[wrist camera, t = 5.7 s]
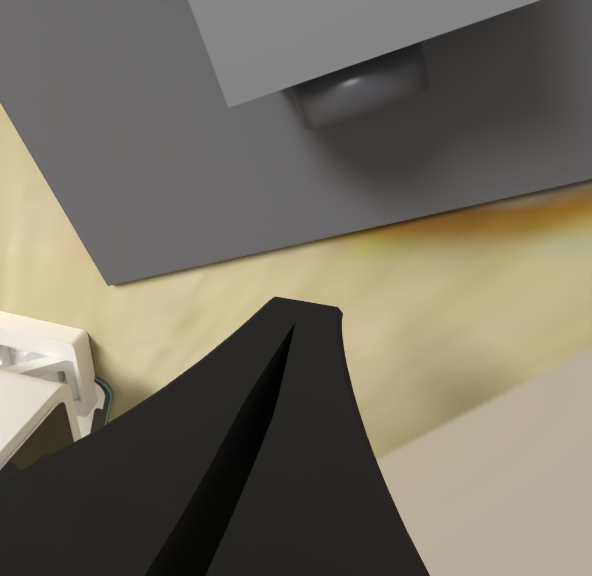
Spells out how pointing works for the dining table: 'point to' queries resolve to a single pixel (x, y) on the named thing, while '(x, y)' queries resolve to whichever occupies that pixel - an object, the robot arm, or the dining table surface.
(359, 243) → the dining table surface
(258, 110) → the mat
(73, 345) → the security camera
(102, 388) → the smartphone
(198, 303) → the dining table surface
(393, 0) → the housing
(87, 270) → the dining table surface
